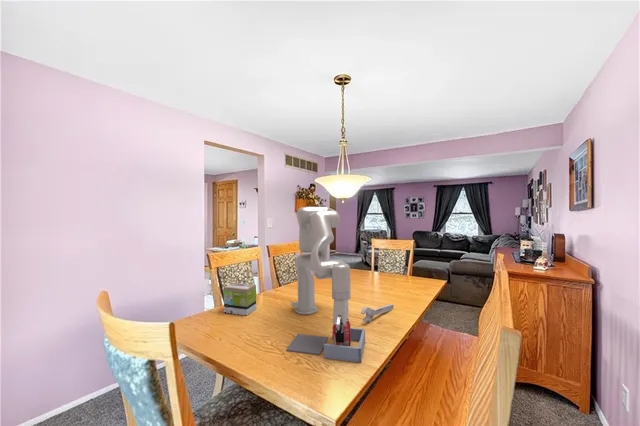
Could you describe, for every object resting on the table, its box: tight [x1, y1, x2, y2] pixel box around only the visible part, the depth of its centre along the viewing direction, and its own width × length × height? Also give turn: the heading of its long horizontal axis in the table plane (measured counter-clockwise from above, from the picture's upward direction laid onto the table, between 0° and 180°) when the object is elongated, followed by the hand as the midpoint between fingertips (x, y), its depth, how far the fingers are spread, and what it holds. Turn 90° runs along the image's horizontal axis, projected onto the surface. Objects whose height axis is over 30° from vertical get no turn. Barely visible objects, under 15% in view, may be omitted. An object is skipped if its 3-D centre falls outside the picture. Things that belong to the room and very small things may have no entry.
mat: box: [285, 333, 329, 356], centre depth 113 cm, size 14×14×1 cm
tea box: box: [223, 282, 257, 316], centre depth 151 cm, size 15×10×15 cm
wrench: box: [360, 303, 395, 324], centre depth 141 cm, size 8×2×30 cm
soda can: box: [332, 318, 352, 347], centre depth 109 cm, size 7×7×12 cm
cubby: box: [323, 327, 366, 364], centre depth 109 cm, size 14×17×5 cm
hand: (342, 336), depth 109 cm, fingers open, 9 cm apart
